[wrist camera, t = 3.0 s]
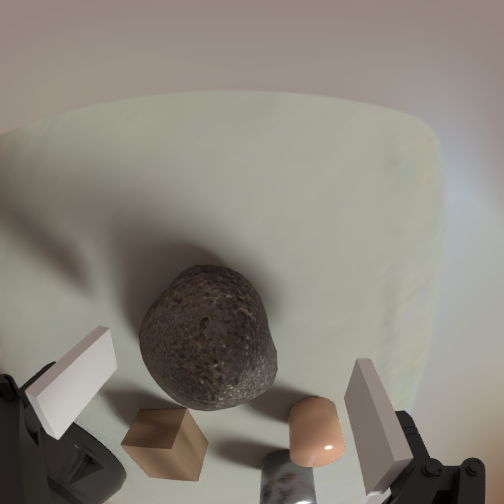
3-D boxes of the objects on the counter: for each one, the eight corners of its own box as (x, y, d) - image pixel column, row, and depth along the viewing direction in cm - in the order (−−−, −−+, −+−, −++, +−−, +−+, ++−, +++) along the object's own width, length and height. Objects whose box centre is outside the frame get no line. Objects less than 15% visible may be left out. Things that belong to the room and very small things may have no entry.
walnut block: (164, 441, 22) (149, 477, 17) (140, 408, 21) (120, 444, 16) (208, 441, 22) (198, 481, 17) (187, 407, 21) (171, 449, 16)
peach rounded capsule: (285, 427, 20) (286, 467, 16) (292, 396, 19) (295, 438, 15) (329, 427, 20) (337, 465, 16) (341, 396, 19) (352, 436, 15)
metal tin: (259, 473, 22) (257, 517, 16) (263, 449, 21) (261, 499, 15) (306, 473, 22) (310, 516, 16) (316, 449, 21) (322, 497, 15)
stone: (223, 364, 23) (314, 407, 16) (135, 391, 18) (206, 471, 10) (216, 254, 23) (319, 260, 15) (115, 263, 17) (178, 281, 10)
